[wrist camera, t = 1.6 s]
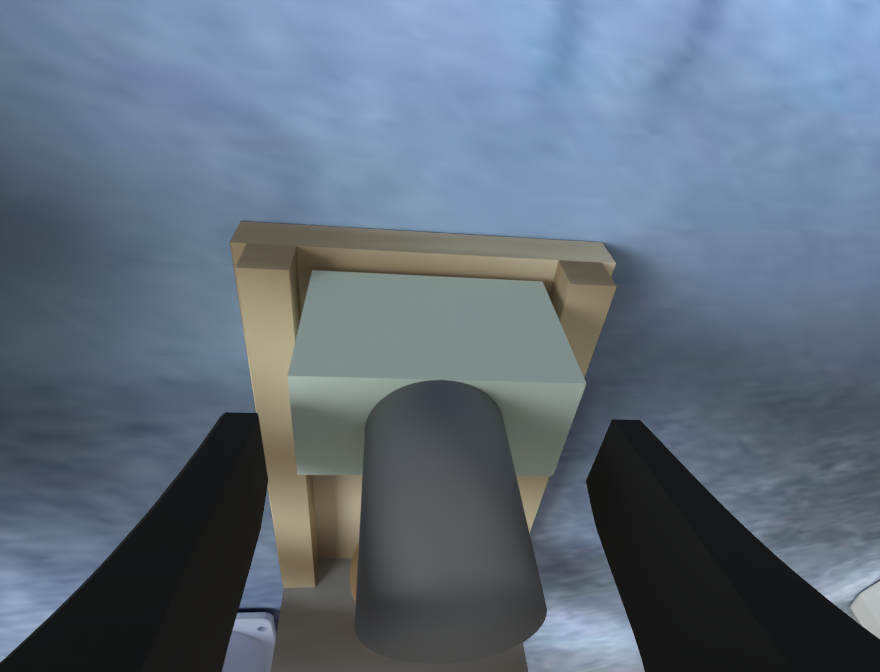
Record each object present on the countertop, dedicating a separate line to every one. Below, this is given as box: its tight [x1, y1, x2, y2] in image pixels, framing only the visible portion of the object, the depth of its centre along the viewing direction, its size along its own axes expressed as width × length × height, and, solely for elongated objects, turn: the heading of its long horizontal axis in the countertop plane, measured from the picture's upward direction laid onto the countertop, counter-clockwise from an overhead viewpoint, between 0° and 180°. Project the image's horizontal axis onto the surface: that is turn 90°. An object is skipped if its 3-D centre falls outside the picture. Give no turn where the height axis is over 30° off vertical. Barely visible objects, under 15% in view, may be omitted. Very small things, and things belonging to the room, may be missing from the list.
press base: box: [230, 221, 617, 672], centre depth 18 cm, size 18×10×6 cm, turn 174°
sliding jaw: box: [287, 270, 586, 664], centre depth 11 cm, size 3×6×8 cm, turn 84°
